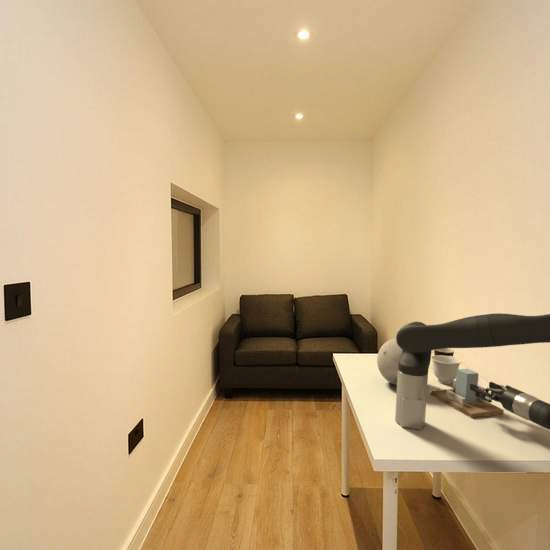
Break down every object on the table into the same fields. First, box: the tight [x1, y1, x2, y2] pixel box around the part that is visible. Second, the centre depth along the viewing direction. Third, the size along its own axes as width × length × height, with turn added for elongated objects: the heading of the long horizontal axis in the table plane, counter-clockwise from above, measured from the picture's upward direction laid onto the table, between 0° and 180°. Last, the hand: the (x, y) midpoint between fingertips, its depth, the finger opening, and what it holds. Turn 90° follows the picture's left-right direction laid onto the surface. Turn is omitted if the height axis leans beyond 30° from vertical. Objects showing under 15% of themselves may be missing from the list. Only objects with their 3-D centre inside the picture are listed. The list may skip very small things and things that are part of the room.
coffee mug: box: [433, 348, 455, 357], centre depth 171 cm, size 12×9×10 cm
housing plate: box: [430, 380, 505, 419], centre depth 133 cm, size 20×14×6 cm
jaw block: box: [455, 368, 479, 403], centre depth 133 cm, size 5×5×11 cm
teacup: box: [431, 355, 462, 385], centre depth 156 cm, size 12×15×10 cm
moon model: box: [376, 337, 402, 386], centre depth 149 cm, size 20×20×20 cm
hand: (480, 385), depth 127 cm, fingers open, 8 cm apart
